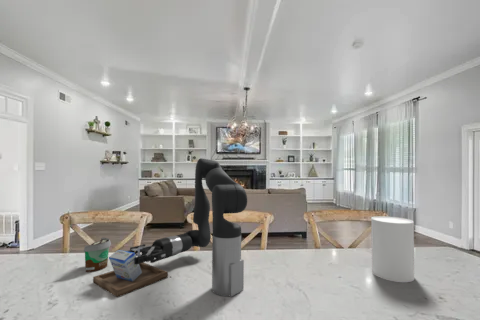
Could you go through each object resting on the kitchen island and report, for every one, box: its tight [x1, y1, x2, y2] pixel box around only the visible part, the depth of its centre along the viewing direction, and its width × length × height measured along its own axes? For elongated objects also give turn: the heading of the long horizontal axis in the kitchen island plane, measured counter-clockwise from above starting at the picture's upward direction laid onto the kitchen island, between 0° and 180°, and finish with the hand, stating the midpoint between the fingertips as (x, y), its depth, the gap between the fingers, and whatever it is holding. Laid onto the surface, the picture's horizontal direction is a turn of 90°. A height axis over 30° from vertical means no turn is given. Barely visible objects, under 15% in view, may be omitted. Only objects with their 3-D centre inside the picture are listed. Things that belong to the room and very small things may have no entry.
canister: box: [370, 215, 415, 283], centre depth 97 cm, size 14×14×20 cm
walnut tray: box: [92, 262, 169, 298], centre depth 90 cm, size 16×18×2 cm
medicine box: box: [108, 249, 142, 281], centre depth 88 cm, size 8×4×9 cm, turn 63°
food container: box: [83, 237, 112, 273], centre depth 102 cm, size 12×6×10 cm, turn 179°
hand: (128, 258), depth 89 cm, fingers closed on medicine box, 8 cm apart
